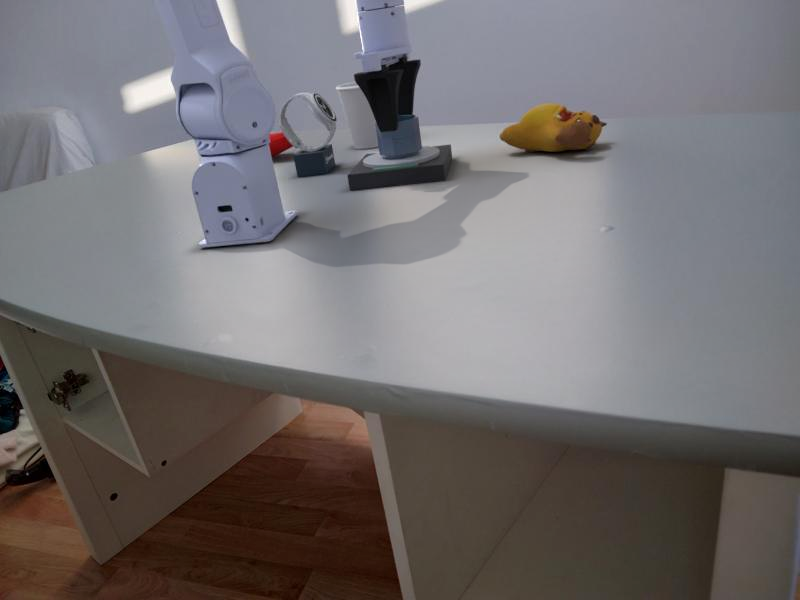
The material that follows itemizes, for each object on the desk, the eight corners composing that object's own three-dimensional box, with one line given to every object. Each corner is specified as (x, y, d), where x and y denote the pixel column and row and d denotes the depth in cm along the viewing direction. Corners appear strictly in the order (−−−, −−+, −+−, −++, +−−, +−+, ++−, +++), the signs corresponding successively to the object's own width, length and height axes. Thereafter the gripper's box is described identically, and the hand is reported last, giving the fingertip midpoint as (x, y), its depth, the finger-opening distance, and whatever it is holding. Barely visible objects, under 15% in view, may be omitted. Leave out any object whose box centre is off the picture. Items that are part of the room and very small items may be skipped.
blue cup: (430, 149, 84) (425, 113, 82) (409, 159, 80) (404, 122, 78) (394, 150, 87) (389, 115, 85) (372, 160, 83) (366, 124, 81)
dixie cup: (367, 139, 113) (358, 80, 109) (405, 139, 108) (397, 77, 104) (336, 150, 107) (324, 88, 103) (374, 150, 102) (364, 85, 98)
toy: (553, 110, 92) (638, 112, 79) (544, 156, 93) (627, 164, 81) (493, 96, 86) (574, 95, 74) (484, 145, 87) (563, 152, 75)
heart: (241, 167, 114) (228, 174, 105) (232, 144, 113) (218, 148, 104) (304, 146, 114) (297, 151, 104) (296, 123, 112) (287, 125, 103)
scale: (445, 180, 78) (443, 160, 77) (349, 190, 80) (346, 170, 79) (452, 158, 89) (450, 140, 88) (368, 168, 91) (365, 150, 90)
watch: (339, 172, 91) (325, 92, 87) (286, 178, 93) (269, 99, 88) (348, 163, 96) (334, 87, 92) (297, 169, 98) (281, 94, 93)
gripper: (366, 12, 84) (382, 118, 89) (328, 16, 71) (349, 139, 77) (419, 4, 82) (432, 113, 87) (388, 6, 69) (405, 134, 75)
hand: (396, 125), depth 82 cm, fingers open, 7 cm apart
